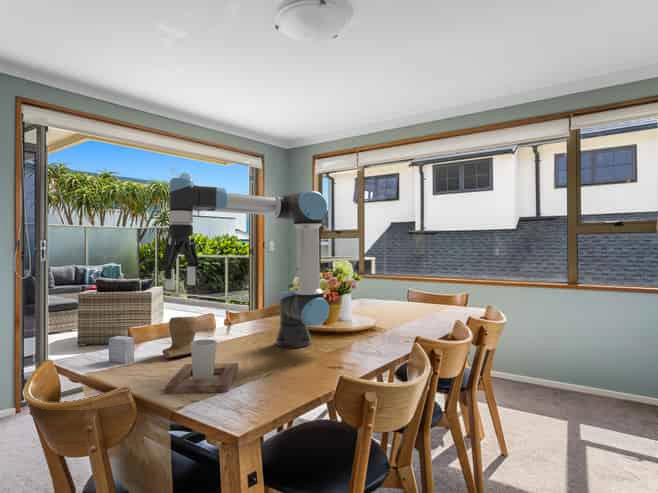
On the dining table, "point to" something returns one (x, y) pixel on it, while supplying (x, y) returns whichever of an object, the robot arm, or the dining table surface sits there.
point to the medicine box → (121, 349)
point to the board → (203, 380)
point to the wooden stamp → (181, 336)
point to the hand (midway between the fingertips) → (180, 287)
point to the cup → (203, 358)
